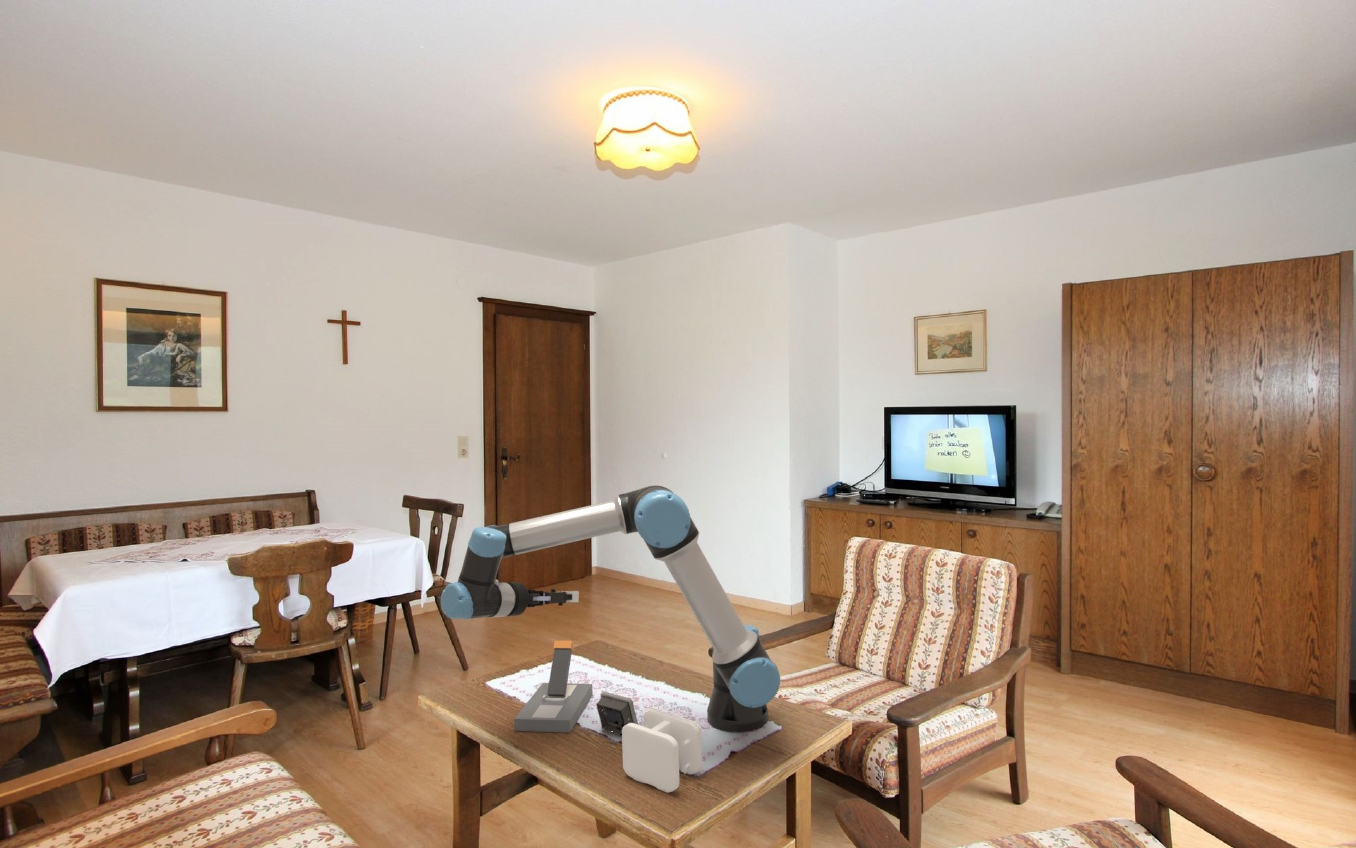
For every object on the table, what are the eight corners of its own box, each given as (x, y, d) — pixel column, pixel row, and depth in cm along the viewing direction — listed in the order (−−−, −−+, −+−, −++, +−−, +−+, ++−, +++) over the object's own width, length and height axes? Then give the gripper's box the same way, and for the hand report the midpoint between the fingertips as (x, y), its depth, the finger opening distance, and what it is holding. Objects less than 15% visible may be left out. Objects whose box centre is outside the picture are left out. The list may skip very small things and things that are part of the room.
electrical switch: (640, 731, 170) (636, 695, 169) (627, 742, 166) (623, 705, 164) (609, 723, 175) (605, 688, 174) (596, 733, 171) (592, 697, 170)
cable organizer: (619, 776, 150) (617, 722, 150) (650, 755, 158) (649, 704, 158) (675, 798, 141) (673, 741, 141) (705, 775, 149) (703, 721, 149)
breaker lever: (564, 694, 181) (571, 640, 190) (546, 693, 182) (554, 640, 190) (566, 696, 183) (574, 644, 192) (548, 696, 184) (557, 643, 192)
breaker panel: (570, 732, 170) (569, 716, 170) (514, 731, 172) (514, 714, 172) (592, 694, 192) (592, 680, 192) (543, 693, 194) (542, 679, 194)
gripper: (526, 582, 156) (596, 581, 175) (486, 582, 164) (558, 581, 183) (524, 617, 155) (595, 612, 174) (485, 615, 162) (557, 611, 181)
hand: (576, 596), depth 178 cm, fingers closed
